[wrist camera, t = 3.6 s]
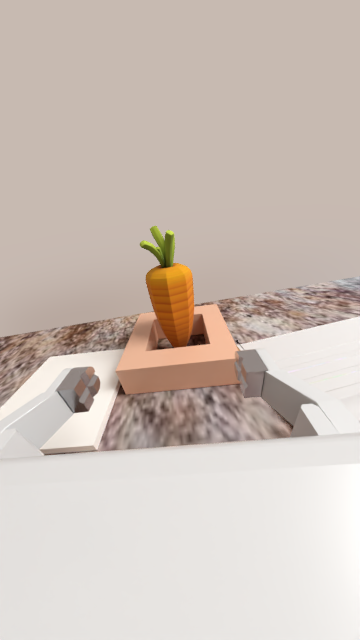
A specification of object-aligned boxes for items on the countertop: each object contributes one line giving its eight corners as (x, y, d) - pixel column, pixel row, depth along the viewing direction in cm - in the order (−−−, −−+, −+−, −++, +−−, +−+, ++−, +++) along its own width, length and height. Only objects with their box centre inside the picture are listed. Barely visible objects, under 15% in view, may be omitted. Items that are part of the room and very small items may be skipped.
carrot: (201, 362, 20) (188, 220, 13) (161, 367, 21) (126, 230, 13) (197, 338, 25) (185, 221, 17) (164, 342, 25) (138, 228, 18)
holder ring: (126, 394, 18) (115, 371, 16) (145, 332, 28) (140, 313, 27) (240, 383, 17) (242, 357, 15) (216, 323, 28) (216, 304, 26)
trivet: (-40, 460, 14) (-47, 456, 14) (52, 361, 25) (50, 357, 24) (97, 450, 14) (93, 445, 13) (132, 352, 24) (130, 347, 24)
